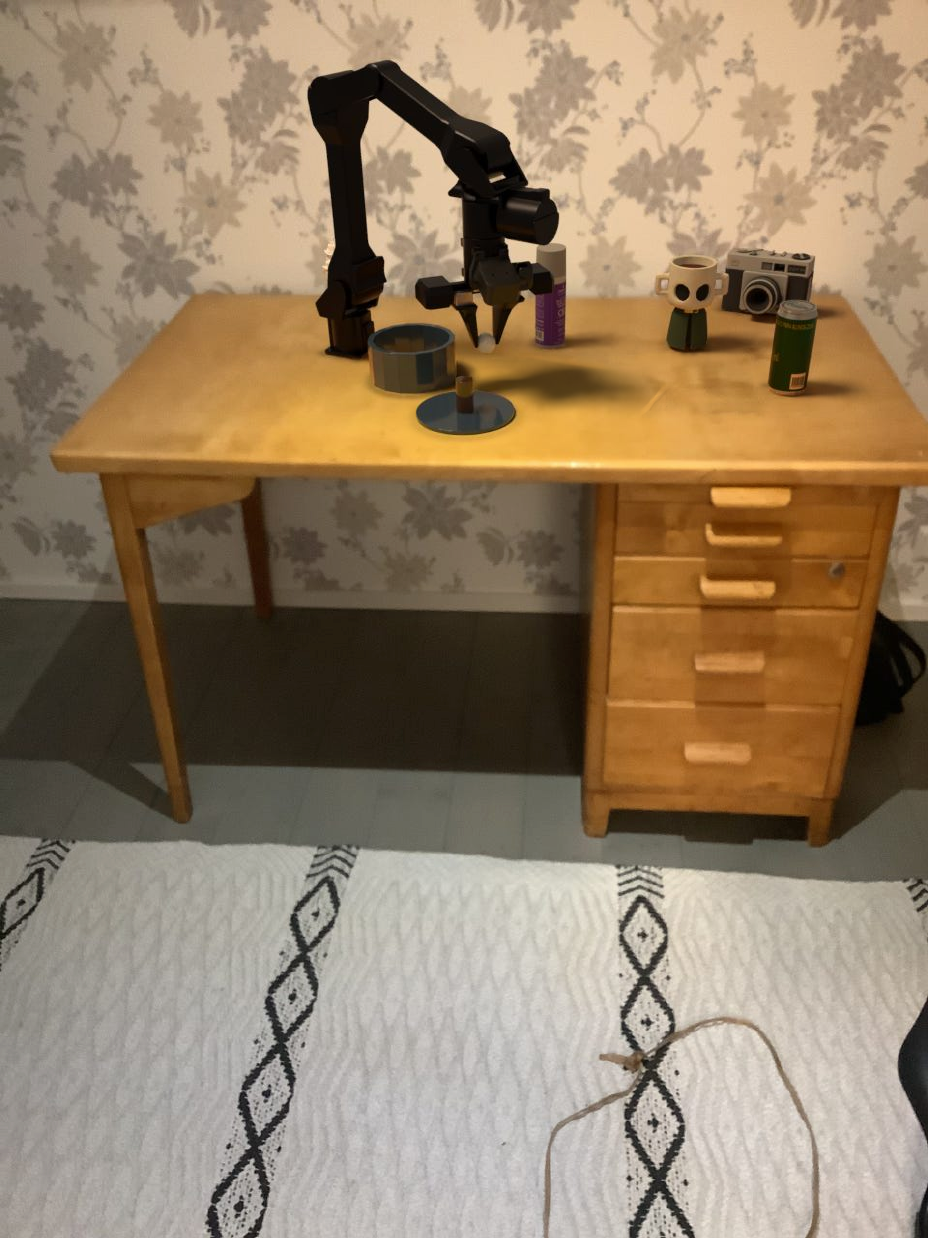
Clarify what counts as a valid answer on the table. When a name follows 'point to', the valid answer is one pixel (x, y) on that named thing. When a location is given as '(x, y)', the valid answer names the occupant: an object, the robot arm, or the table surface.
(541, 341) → the container
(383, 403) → the table surface
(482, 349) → the white piggy bank
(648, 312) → the table surface
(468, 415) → the lid
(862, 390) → the table surface
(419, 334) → the canister
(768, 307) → the camera
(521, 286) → the robot arm
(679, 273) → the character mug
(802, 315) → the beer can
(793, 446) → the table surface
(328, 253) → the flower shoulder figurine
